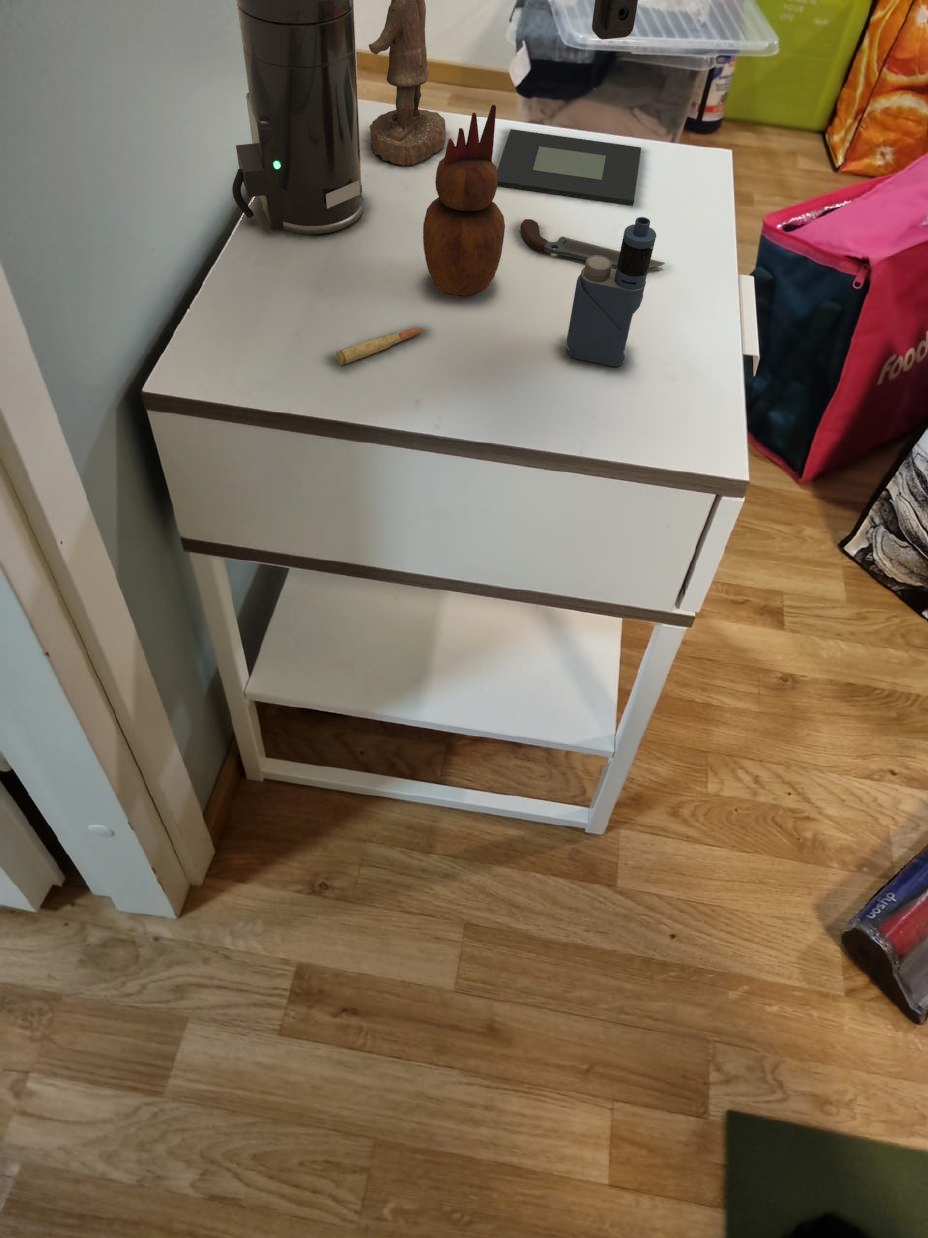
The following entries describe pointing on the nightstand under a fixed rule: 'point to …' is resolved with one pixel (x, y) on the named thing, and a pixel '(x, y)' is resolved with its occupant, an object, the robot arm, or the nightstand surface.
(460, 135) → the wooden figurine
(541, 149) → the mat
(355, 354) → the bullet
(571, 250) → the knife
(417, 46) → the figurine
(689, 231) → the nightstand surface
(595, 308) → the vaping device
